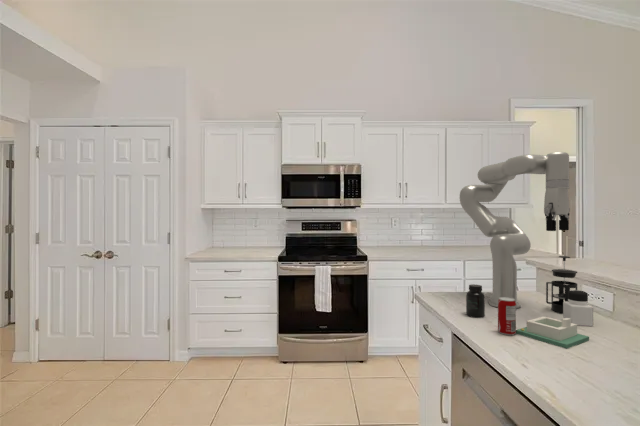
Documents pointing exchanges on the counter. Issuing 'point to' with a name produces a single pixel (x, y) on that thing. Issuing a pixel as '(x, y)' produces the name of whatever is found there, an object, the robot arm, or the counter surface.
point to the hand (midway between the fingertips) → (557, 230)
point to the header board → (553, 332)
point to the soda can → (507, 316)
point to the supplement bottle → (475, 301)
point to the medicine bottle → (578, 308)
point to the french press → (560, 287)
